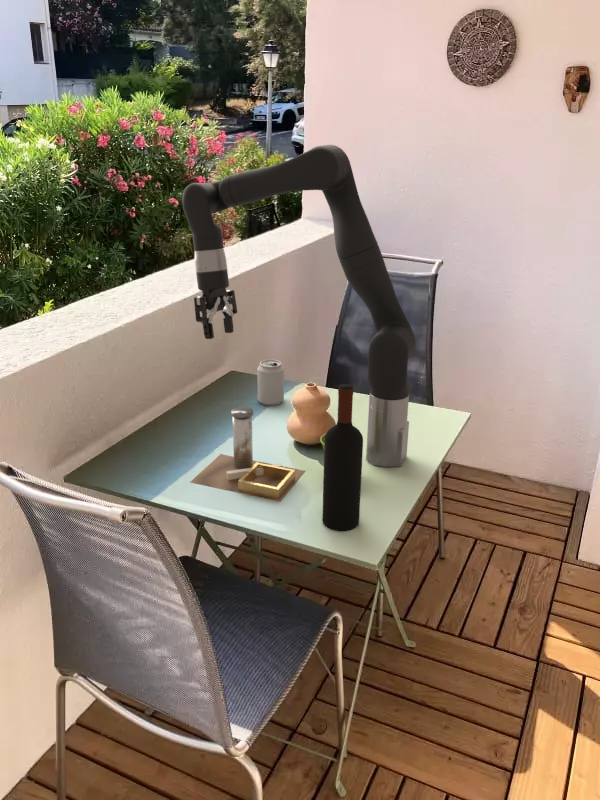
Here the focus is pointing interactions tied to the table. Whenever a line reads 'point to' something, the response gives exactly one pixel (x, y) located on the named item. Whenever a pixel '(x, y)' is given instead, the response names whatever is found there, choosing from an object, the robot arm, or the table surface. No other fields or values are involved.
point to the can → (270, 382)
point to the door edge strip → (241, 472)
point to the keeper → (267, 490)
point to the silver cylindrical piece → (242, 437)
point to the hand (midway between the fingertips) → (219, 335)
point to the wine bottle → (342, 468)
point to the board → (217, 478)
